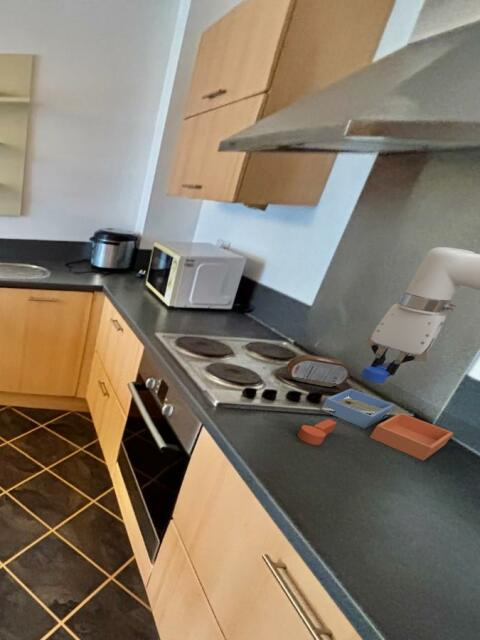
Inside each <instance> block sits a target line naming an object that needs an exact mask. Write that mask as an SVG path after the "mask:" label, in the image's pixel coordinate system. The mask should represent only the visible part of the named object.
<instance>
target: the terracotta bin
mask: <svg viewBox="0 0 480 640" xmlns="http://www.w3.org/2000/svg"><path fill="white" fill-rule="evenodd" d="M453 435H454V432H453V431H450V430H447V429H445V428H443V427H440V426H437V425H434V424H432V423H430V422H426V421H424V420H422V419H419V418H416V417H413V416H411V415H408V414H405V413H403V412H399V413H397V414H395V415H393V416H391V417H390V418H388V419H386V420H384V421H382V422H381V423H379V424H377V425H376V426H375V428H374V430H373V431H372V433H371V434H370V436H369V438H370V439H372V440H374V441H376V442H379V443H382V444H384V445H385V446H389V447H391V448H393V449H395V450H397V451H400V452H402V453H404V454H406V455H409V456H411V457H414V458H415V459H418V460H420V461H425V460H427V458H429V457H430V456H432V455H433V454H435V453H436V452H437V451H439V450H440V449H441V448H443V447H444V446H445V445H446V444H447V443H448V441H449V440H450V439H451V437H452V436H453Z"/></svg>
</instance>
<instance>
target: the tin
mask: <svg viewBox="0 0 480 640" xmlns="http://www.w3.org/2000/svg"><path fill="white" fill-rule="evenodd" d="M285 369H286V370H285V371H286V374H287V375H288V374H289V375H288V376H289V377H290V376H291V377H299V378H304V379H311V380H318V381H324V382H331V383H336V384H339V385H340V386H342V385H343V384H345V383H346V382H347V381H348V379H349V378H350V375H351V371H350V368H349V367H348V365H347V364H346V363H345V362H344V361H342V360H340V359H334V358H328V357H324V356H319V355H312V354H301V355H298V356H296V357H294V358H292V359H291V360H290V361H288V363H287V365H286V368H285ZM291 377H290V378H291Z"/></svg>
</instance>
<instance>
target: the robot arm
mask: <svg viewBox="0 0 480 640" xmlns="http://www.w3.org/2000/svg"><path fill="white" fill-rule="evenodd" d="M459 286H463V287H467V288H470V289H474V290H476V291H477V290H478V291H480V253H476V252H474V251H472V250H468V249H463V248H456V247H447V246H438V247H434V248H432V249H430V250H429V251H428V252H427V253H426V255H425V257H424V258H423V260H422V262H421V264H420V265H419V267H418V268H417V270H416V272H415V274H414V276H413V277H412V279H411V281H410V282H409V285H408V286H407V288H406V290H405V292H404V293H403V295H402V297H401V299H400V300H399V301H398V303H395V304H393V305H392V306H391V307H390V308H389V310H388V311H387V312H386V314H384V316H383V317H382V318H381V320H380V322H379V323H378V324H377V326H376V328H375V329H374V330H373V332H372V333H371V334H370V335H369V336H368V337H367V338H366V339H365V340H363V343H364V345H366V346H367V347H369V348H370V349H371V350H372V352H373V354H374V360H373V362H372V363H371V364H370V367H377V366H379V365H381V364H383V363H385V361H386V360H387V358H386V354H387V353H388V351H389V349H391V350H394V351H398V352H399V353H398V354H397V356H396V358H395V359H394V360H393V361H391V363H390V364H389V366H388V367H387V369H386V371H387V372H389V375H388V377H387V378H389V377H390V376H394V375H395V374H396V372H397V371H398V369H399V368H400V366H401V365H402V364H405V363H408V362H413V361H415V362H426V361H428V360H429V357H430V349H431V348H432V346H433V344H434V343H435V341H436V339H437V338H438V336H439V333H440V332H441V330H442V328H443V325H444V323H445V320H446V317H447V314H446V313H444V312H446V311H447V312H453V311H455V309H456V308H457V305H456V304H453V303H452V302H451V299H452V298H453V297H454V295H455V294H456V292H457V290H458V288H459Z"/></svg>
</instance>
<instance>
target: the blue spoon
mask: <svg viewBox="0 0 480 640" xmlns="http://www.w3.org/2000/svg"><path fill="white" fill-rule="evenodd" d="M391 362H392V361H391ZM391 362H390V361H386V362H384V363H383V364H381V365H379V366H377V367H371V365H369V366H365V367H364V368H363V370H362V372H361V374H360V378H361V379H364V380H366V381H369V382H371V383H375V384H384V383H385V382H386V380H387V378H389V377H388V375H389V372H387V371H386V369H387V367H388V366H389V364H390V363H391Z"/></svg>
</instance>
